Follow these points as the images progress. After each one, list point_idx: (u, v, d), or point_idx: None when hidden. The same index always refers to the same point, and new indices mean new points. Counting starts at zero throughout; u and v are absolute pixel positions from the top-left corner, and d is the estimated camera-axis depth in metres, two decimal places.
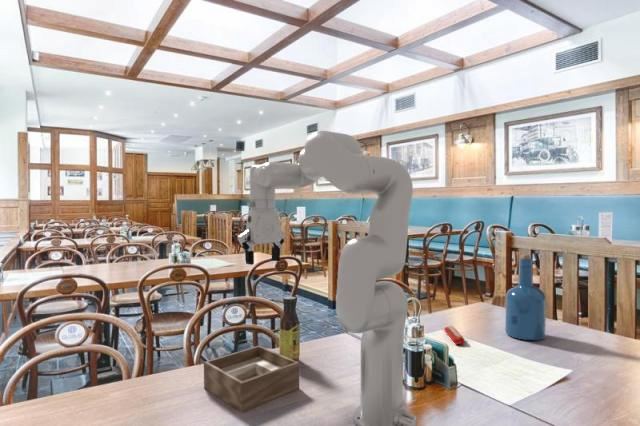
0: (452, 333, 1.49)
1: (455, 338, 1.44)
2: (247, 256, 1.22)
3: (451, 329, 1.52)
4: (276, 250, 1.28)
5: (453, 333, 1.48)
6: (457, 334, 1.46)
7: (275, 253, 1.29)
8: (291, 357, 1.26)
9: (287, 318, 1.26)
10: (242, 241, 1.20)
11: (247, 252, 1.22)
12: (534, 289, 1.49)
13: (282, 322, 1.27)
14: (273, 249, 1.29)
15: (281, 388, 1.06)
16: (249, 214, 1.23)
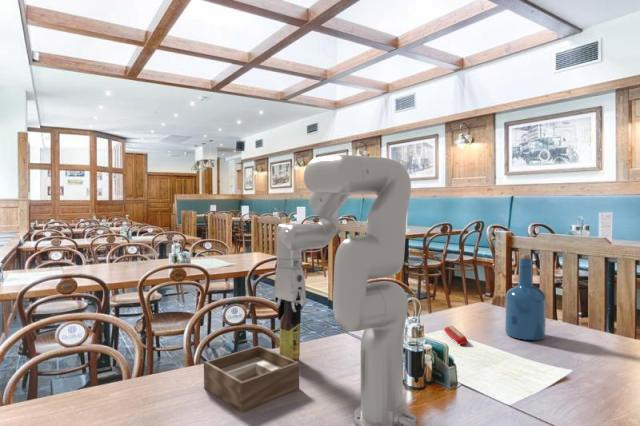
0: (454, 333, 1.48)
1: (458, 338, 1.44)
2: (298, 316, 1.26)
3: (452, 329, 1.52)
4: None
5: (456, 333, 1.48)
6: (459, 334, 1.46)
7: None
8: (291, 357, 1.26)
9: (288, 318, 1.26)
10: None
11: (298, 312, 1.26)
12: (534, 289, 1.49)
13: (283, 322, 1.27)
14: (282, 308, 1.30)
15: (281, 388, 1.06)
16: (297, 273, 1.25)
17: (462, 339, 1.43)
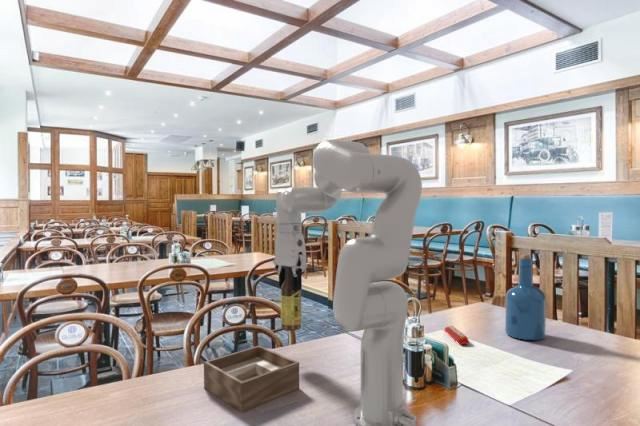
0: (455, 333, 1.49)
1: (459, 338, 1.44)
2: (299, 281, 1.25)
3: (452, 329, 1.52)
4: None
5: (456, 333, 1.48)
6: (460, 334, 1.46)
7: None
8: (293, 323, 1.25)
9: (289, 284, 1.25)
10: None
11: (299, 277, 1.25)
12: (534, 289, 1.49)
13: (283, 288, 1.26)
14: (282, 276, 1.29)
15: (281, 388, 1.06)
16: (298, 238, 1.24)
17: (463, 339, 1.43)
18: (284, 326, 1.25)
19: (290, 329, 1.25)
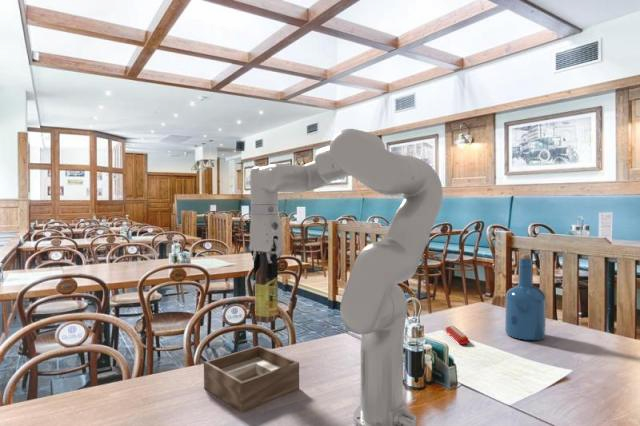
0: (455, 332, 1.49)
1: (460, 338, 1.44)
2: (275, 268, 1.13)
3: (453, 329, 1.52)
4: None
5: (457, 333, 1.48)
6: (461, 334, 1.46)
7: None
8: (267, 314, 1.13)
9: (263, 271, 1.14)
10: None
11: (275, 264, 1.13)
12: (534, 289, 1.49)
13: (258, 276, 1.14)
14: (258, 262, 1.18)
15: (281, 388, 1.06)
16: (273, 220, 1.12)
17: (463, 339, 1.43)
18: (258, 317, 1.14)
19: (264, 321, 1.13)
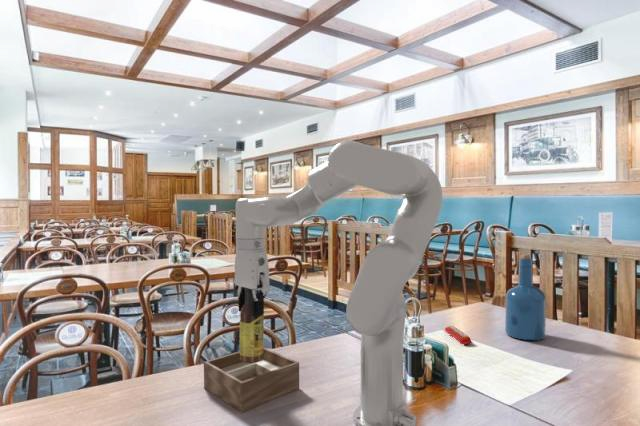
0: (457, 333, 1.49)
1: (462, 338, 1.44)
2: (261, 306, 1.07)
3: (453, 329, 1.52)
4: None
5: (458, 333, 1.48)
6: (462, 334, 1.46)
7: None
8: (252, 354, 1.07)
9: (248, 309, 1.08)
10: None
11: (261, 301, 1.07)
12: (534, 289, 1.49)
13: (242, 313, 1.08)
14: (243, 298, 1.12)
15: (281, 388, 1.06)
16: (259, 256, 1.06)
17: (466, 339, 1.43)
18: (242, 357, 1.08)
19: (249, 361, 1.07)
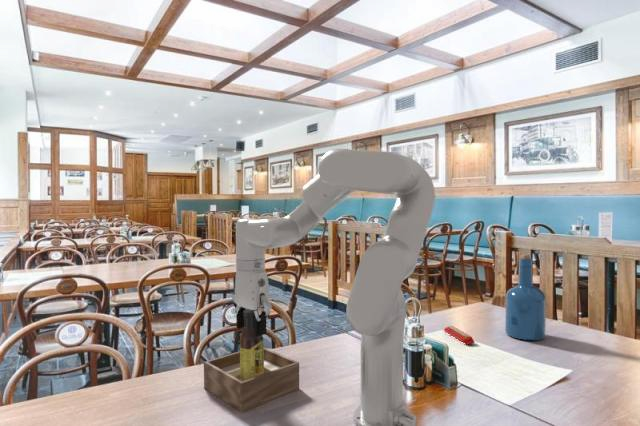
0: (458, 333, 1.49)
1: (464, 338, 1.44)
2: (263, 326, 1.07)
3: (454, 329, 1.52)
4: None
5: (460, 333, 1.48)
6: (464, 334, 1.47)
7: None
8: None
9: (248, 335, 1.08)
10: None
11: (263, 321, 1.07)
12: (534, 289, 1.49)
13: (242, 339, 1.08)
14: (241, 315, 1.13)
15: (281, 388, 1.06)
16: (259, 277, 1.06)
17: (468, 339, 1.43)
18: None
19: None
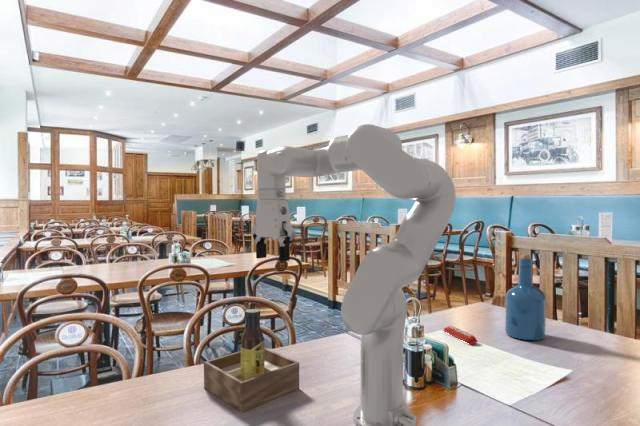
0: (460, 332, 1.49)
1: (468, 338, 1.44)
2: (287, 252, 1.09)
3: (454, 329, 1.52)
4: (264, 245, 1.16)
5: (462, 333, 1.48)
6: (466, 333, 1.47)
7: (263, 249, 1.16)
8: None
9: (249, 335, 1.08)
10: None
11: (287, 247, 1.09)
12: (534, 289, 1.49)
13: (243, 339, 1.08)
14: (260, 245, 1.15)
15: (281, 388, 1.06)
16: (281, 205, 1.09)
17: (472, 338, 1.44)
18: None
19: None
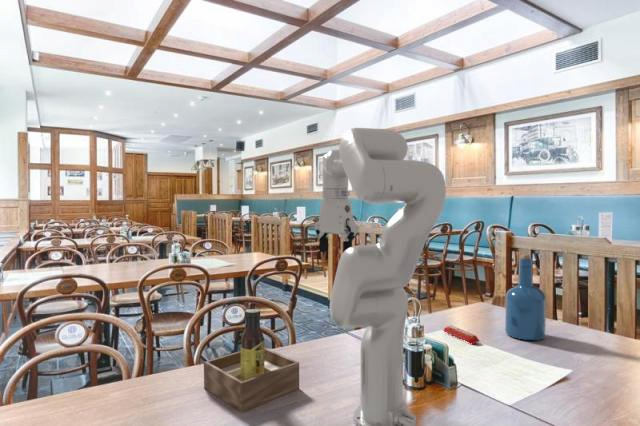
0: (461, 332, 1.49)
1: (470, 337, 1.44)
2: (350, 246, 1.19)
3: (455, 329, 1.52)
4: (326, 240, 1.27)
5: (463, 333, 1.48)
6: (467, 333, 1.47)
7: (325, 244, 1.27)
8: None
9: (249, 335, 1.08)
10: None
11: (350, 242, 1.19)
12: (534, 289, 1.49)
13: (243, 339, 1.08)
14: (323, 240, 1.26)
15: (281, 388, 1.06)
16: (345, 203, 1.19)
17: (474, 338, 1.44)
18: None
19: None
